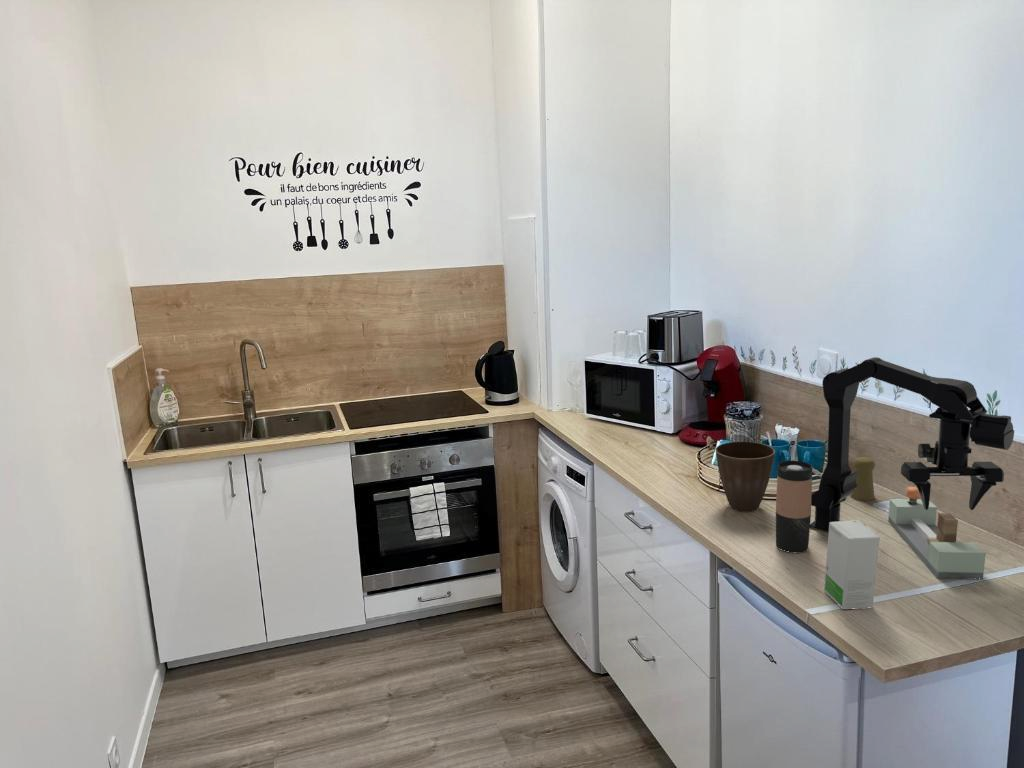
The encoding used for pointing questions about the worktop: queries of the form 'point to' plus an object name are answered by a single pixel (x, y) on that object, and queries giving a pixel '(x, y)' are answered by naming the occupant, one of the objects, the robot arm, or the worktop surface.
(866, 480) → the cork
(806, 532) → the travel mug
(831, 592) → the skincare box
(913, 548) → the rail bench
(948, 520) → the carriage
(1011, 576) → the worktop surface
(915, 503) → the orange knob
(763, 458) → the plant pot
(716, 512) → the worktop surface
